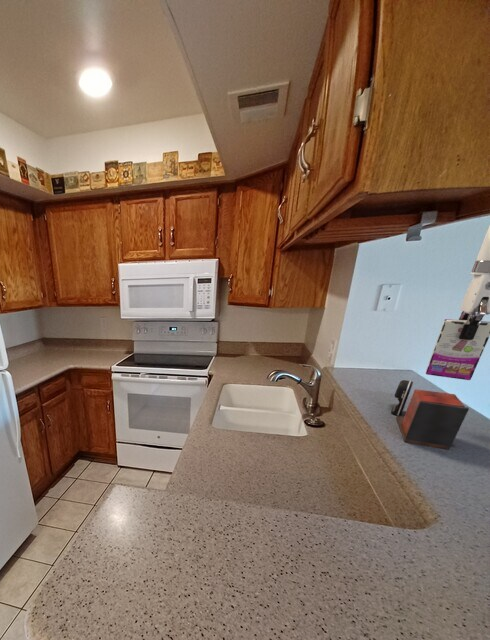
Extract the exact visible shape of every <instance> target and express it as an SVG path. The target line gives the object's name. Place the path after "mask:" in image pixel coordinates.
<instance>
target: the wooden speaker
mask: <svg viewBox="0 0 490 640" xmlns="http://www.w3.org/2000/svg"><path fill="white" fill-rule="evenodd" d="M469 410H470V408H469V407H466V406H465V405H464V403H462V401H461V400H460V399H459V397H458V396H457V395H456V393H450V392H449V393H448V392H442V391H441V392H440V391H432V390H424V389H416V388H414V391H413V393H412V395H411V398H410V401H409V403H408V406H407V409H406V412H405V414H404V416H402V415H396V418H395V419H396V422H397V424H398V429H399V431H400V433H401V437H402V439H403V442H404V443H408V444H414V445H419V446H426V447H430V448H435V449H440V450H442V449H443V450H445V451H446V450H447V451H450V450H451V447H452V446H453V443H454V441H455V439H456V437H457V435H458V433H459V431H460V429H461V426H462V424H463V422H464V421H465V418H466V416H467V415H468V412H469Z"/></svg>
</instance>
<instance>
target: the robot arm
mask: <svg viewBox="0 0 490 640" xmlns="http://www.w3.org/2000/svg"><path fill="white" fill-rule="evenodd" d="M470 275H473V277H472V279H471V281H470V283H469V285H468V287H467V289H466V292H465V294H464V297H463V300H462V302H461V305H460V310H461V313H460V316H459V318H458V320H467V322H466V325H464V326H463V329H462V331H461V334H460V336H459V339H464V340H473V339H474V336H475V334H476V332H477V329H478V327H479V325H480V323H481V321H483V319H484V317H485V316H486V315H490V225H489V226H488V228H487V231H486V233H485V236H484V238H483V241H482V243H481V247H480V248H479V252H478V254H477V257H476V259H475V262H474V263H473V267H472V269H471V272H470Z"/></svg>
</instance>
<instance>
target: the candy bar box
mask: <svg viewBox="0 0 490 640" xmlns="http://www.w3.org/2000/svg"><path fill="white" fill-rule="evenodd" d="M466 322H467V320H459V319H450V318H445V319H444V320H443V323H442V325H441V328H440V331H439V333H438V336H437V339H436V342H435V345H434V347H433V350H432V353H431V356H430V358H429V361H428V364H427V366H426V368H425V369H426V370H425V375H428V376H433V377H441V378H448V379H449V378H450V379H456V380H465V381H471V380H472V378H473V375H474V373H475V371H476V369H477V365H478V364H479V362H480V360H481V357H482V355H483V353H484V350H485V348H486V346H487V343H488V341H489V339H490V321H486V320H481V323H480V325H479V327H478V329H477V332H476V334H475V336H474V339H473V340H464V339H459V336H460V334H461V331H462V329H463V326H464V325H466Z"/></svg>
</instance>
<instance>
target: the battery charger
mask: <svg viewBox="0 0 490 640" xmlns="http://www.w3.org/2000/svg"><path fill="white" fill-rule="evenodd" d="M413 384H414V381H412V380H405V379H403V380H400V382H399V383H398V386H397V388H396V390H395V393H394V398H395V399H397V401H398V403H397V404H396V405H395V406H392V408H391V411H390V413H391V414H392V415H395V416H402V414H403V412H404V408H405V406H406V404H407V400H408V398H409V395H410V393H411V390H412V387H413Z"/></svg>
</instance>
